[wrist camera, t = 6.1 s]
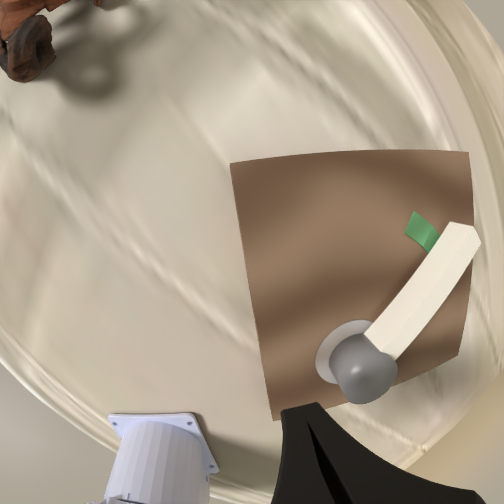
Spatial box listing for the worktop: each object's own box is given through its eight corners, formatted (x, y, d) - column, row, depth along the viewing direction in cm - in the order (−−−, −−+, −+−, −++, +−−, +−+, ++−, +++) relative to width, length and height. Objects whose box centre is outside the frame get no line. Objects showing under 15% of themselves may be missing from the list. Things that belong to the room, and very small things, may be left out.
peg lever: (349, 384, 17) (365, 410, 14) (317, 363, 16) (332, 392, 14) (463, 245, 16) (491, 254, 13) (443, 211, 15) (474, 216, 12)
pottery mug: (5, 49, 11) (-3, -16, 4) (93, 19, 15) (103, -48, 8) (-8, 135, 11) (-44, 52, 3) (109, 88, 15) (118, -9, 8)
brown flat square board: (448, 348, 20) (458, 356, 19) (270, 408, 19) (273, 423, 18) (456, 153, 16) (470, 152, 15) (229, 166, 15) (230, 163, 14)
